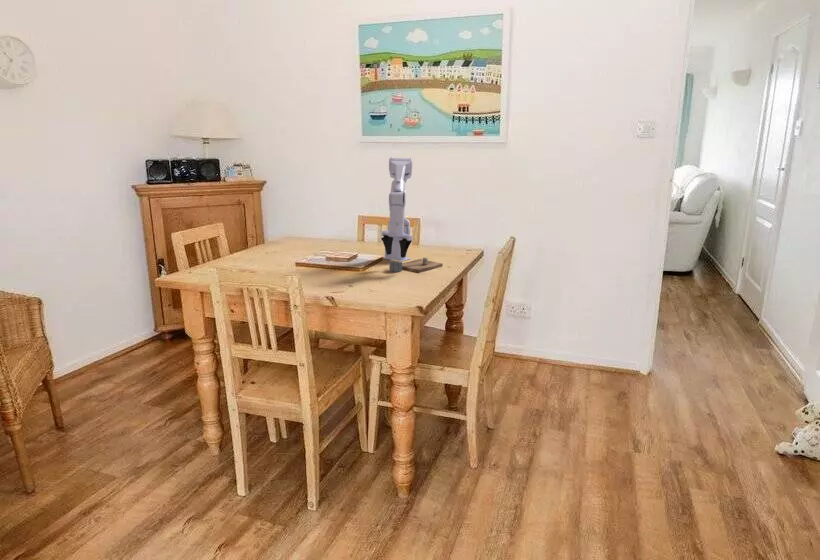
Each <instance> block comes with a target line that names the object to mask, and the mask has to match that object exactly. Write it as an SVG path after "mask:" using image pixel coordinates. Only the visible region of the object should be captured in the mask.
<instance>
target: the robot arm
mask: <svg viewBox="0 0 820 560" xmlns="http://www.w3.org/2000/svg"><path fill="white" fill-rule="evenodd" d="M388 170H389V171H388V172H389V175H390V178H391V179H393V180H392V181H391V187H390V192H389V193H388V206H389V207H388V208H389V209H388V211H389V220H388V223H387V230H382V231H380V233H381V235H380V236H381V238H380V239H381V242H382V243H383V246H384V257H383V259H385V260H389V261H390V260H401V261H402V262H405V261H408V260H411V257H409V256H408V255H407V253H408V249H409V247H410V245H411V244H412V242H413V241H412V240H413V235H411V222H410V220H409V219H408V218H406V217H405V207H406V200H407V199H406V198H407V193H406V187H407V186H406V183H407V180H408V179H411V177H412V175H413V174H412V173H413V172H412V171H413V158H412V157H392V156H391V157H389V158H388Z"/></svg>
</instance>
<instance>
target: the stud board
mask: <svg viewBox="0 0 820 560" xmlns="http://www.w3.org/2000/svg"><path fill="white" fill-rule="evenodd" d="M443 266H444V265H443V263H441V262H437V261H432V260H428V257H422V258H419V259H414V260H411V261H406V262H402V270H405V271H410V272H412V273H413V272H414V273H419V274H420V273H423V272H427V271H431V270H434V269H437V268H438V269H439V268H442V267H443Z"/></svg>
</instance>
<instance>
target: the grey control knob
mask: <svg viewBox="0 0 820 560" xmlns="http://www.w3.org/2000/svg"><path fill="white" fill-rule="evenodd" d="M402 263H403V261H401V260H389V265H388V266H389V268H388V269H389V272H391V273H401V272H402V271H403V269H402Z"/></svg>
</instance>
